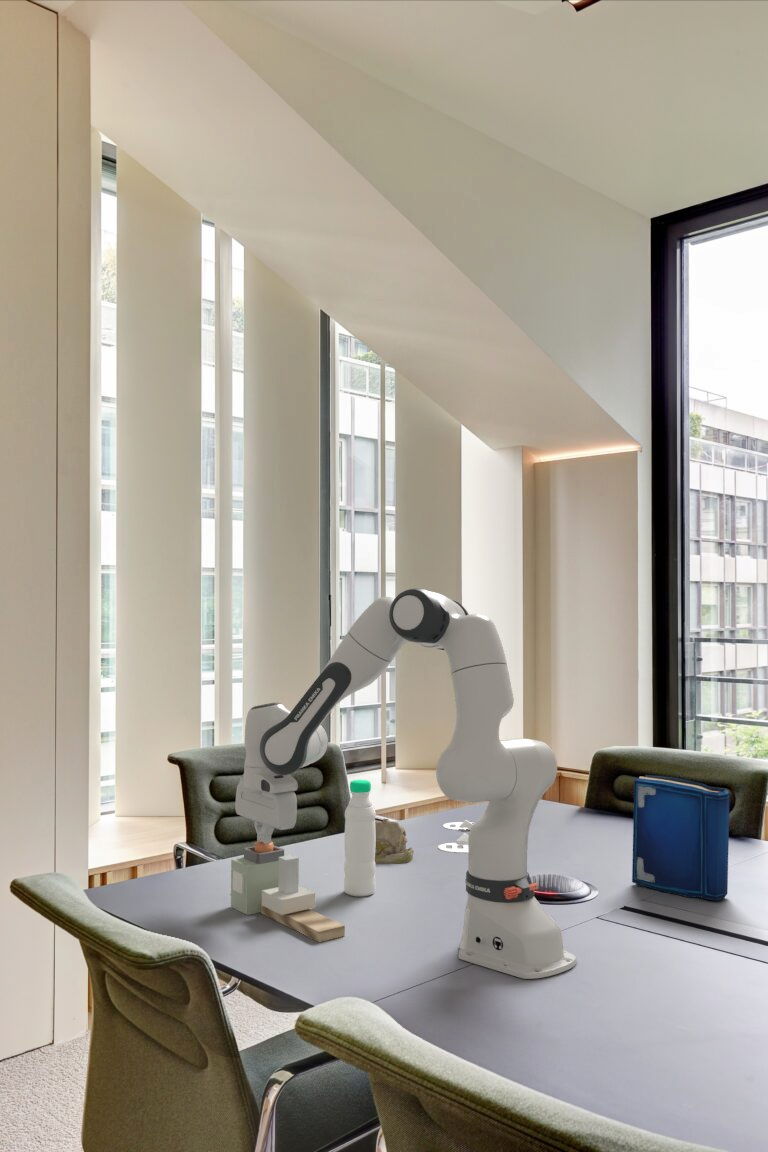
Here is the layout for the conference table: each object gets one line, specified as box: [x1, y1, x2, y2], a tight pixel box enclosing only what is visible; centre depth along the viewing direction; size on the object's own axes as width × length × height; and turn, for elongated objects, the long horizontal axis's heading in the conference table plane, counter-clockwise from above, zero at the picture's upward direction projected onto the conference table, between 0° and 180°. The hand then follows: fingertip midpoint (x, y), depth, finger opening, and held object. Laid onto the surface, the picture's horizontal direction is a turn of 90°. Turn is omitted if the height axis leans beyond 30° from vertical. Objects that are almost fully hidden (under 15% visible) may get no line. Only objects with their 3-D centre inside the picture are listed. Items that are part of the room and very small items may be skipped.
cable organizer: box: [437, 819, 473, 854], centre depth 265 cm, size 35×24×3 cm
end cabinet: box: [230, 844, 290, 916], centre depth 203 cm, size 7×12×12 cm, turn 128°
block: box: [260, 903, 346, 943], centre depth 191 cm, size 22×6×2 cm, turn 38°
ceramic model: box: [375, 818, 414, 864], centre depth 243 cm, size 14×11×10 cm
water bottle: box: [343, 779, 377, 898], centre depth 213 cm, size 7×7×25 cm
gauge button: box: [254, 840, 274, 853], centre depth 204 cm, size 4×4×3 cm
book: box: [631, 774, 731, 902], centre depth 215 cm, size 22×7×25 cm, turn 47°
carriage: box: [262, 854, 316, 915], centre depth 196 cm, size 8×8×10 cm
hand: (264, 842), depth 204 cm, fingers closed, pressing on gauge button
